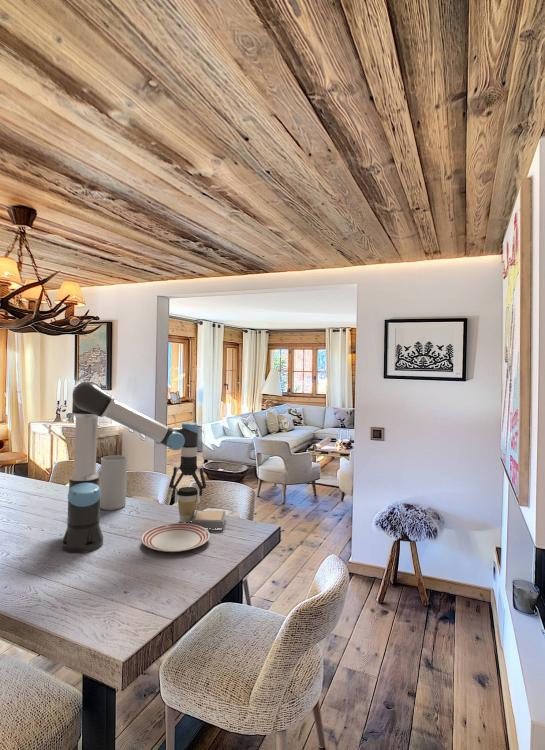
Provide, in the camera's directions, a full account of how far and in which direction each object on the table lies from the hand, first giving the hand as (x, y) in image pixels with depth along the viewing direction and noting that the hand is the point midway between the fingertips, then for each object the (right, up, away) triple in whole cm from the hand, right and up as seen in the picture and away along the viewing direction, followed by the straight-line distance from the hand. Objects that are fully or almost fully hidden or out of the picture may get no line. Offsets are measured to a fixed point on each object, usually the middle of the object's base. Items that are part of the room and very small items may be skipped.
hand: (187, 502), depth 196 cm
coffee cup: (0, -9, 0) cm, 9 cm away
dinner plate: (0, -9, -25) cm, 27 cm away
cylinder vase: (-42, -7, +17) cm, 46 cm away
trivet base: (+11, -9, -4) cm, 15 cm away
